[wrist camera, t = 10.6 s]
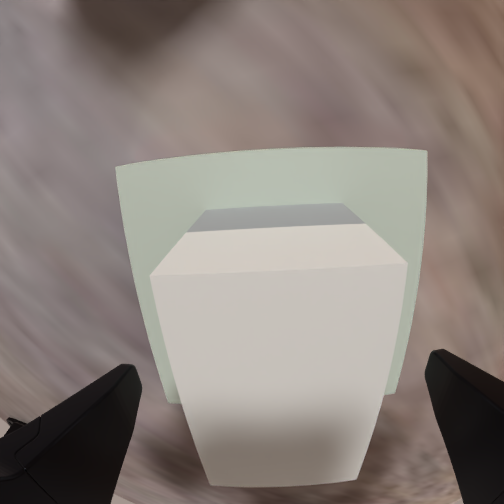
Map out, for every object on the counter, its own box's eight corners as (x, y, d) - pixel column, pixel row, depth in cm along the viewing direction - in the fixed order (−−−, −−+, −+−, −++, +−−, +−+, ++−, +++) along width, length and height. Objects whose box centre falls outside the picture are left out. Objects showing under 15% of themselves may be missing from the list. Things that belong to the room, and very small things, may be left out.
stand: (385, 370, 16) (394, 393, 14) (176, 379, 17) (168, 403, 15) (406, 148, 12) (427, 150, 10) (135, 162, 13) (115, 167, 11)
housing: (342, 202, 11) (408, 262, 6) (333, 373, 14) (356, 479, 8) (206, 209, 12) (149, 275, 6) (228, 378, 14) (210, 485, 9)
